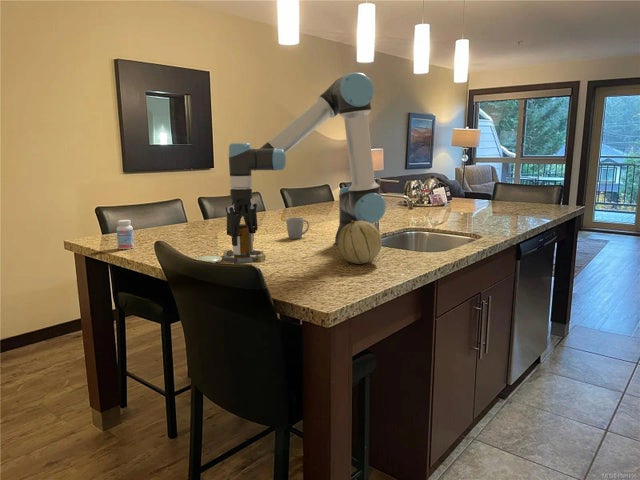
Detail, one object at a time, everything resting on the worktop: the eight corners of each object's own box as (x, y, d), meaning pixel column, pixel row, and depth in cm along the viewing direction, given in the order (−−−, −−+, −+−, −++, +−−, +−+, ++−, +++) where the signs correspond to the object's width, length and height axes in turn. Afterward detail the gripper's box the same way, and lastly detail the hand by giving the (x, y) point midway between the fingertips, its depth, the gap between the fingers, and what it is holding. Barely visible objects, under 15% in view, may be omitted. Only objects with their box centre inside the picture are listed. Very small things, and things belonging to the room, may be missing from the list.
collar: (275, 257, 172) (275, 251, 172) (249, 265, 161) (249, 259, 160) (239, 251, 182) (238, 246, 182) (211, 258, 171) (211, 253, 170)
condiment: (233, 256, 175) (232, 223, 173) (256, 255, 176) (255, 223, 173) (231, 260, 168) (230, 227, 165) (256, 259, 169) (254, 226, 166)
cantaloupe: (389, 262, 163) (390, 219, 160) (364, 270, 152) (364, 224, 149) (355, 256, 172) (355, 215, 170) (328, 263, 162) (328, 220, 159)
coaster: (228, 259, 169) (227, 258, 169) (206, 265, 161) (206, 263, 161) (208, 256, 174) (208, 254, 174) (186, 261, 166) (186, 260, 166)
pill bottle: (117, 250, 186) (114, 222, 184) (119, 247, 192) (116, 219, 190) (133, 249, 188) (131, 221, 186) (135, 246, 194) (133, 219, 192)
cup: (284, 237, 212) (284, 217, 210) (306, 235, 215) (306, 216, 213) (288, 240, 204) (288, 220, 203) (311, 238, 207) (310, 219, 206)
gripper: (251, 185, 176) (253, 247, 181) (213, 189, 161) (216, 256, 165) (266, 186, 172) (268, 249, 177) (229, 190, 157) (232, 259, 161)
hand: (243, 252), depth 171 cm, fingers closed on condiment, 6 cm apart
